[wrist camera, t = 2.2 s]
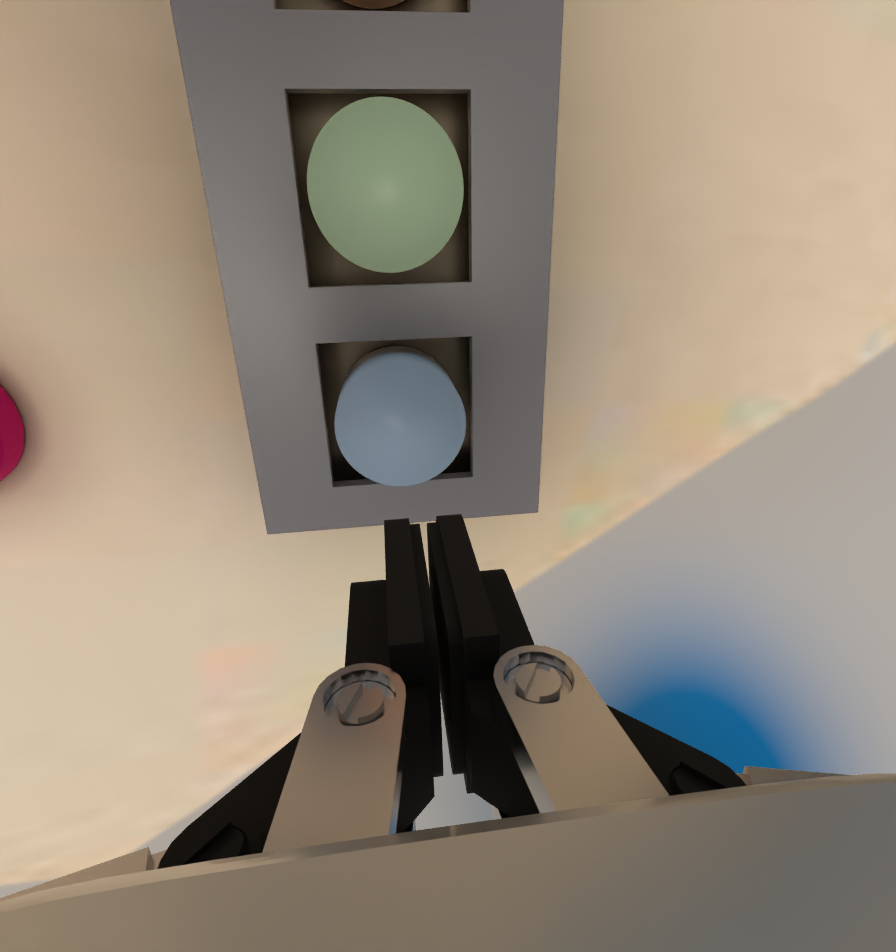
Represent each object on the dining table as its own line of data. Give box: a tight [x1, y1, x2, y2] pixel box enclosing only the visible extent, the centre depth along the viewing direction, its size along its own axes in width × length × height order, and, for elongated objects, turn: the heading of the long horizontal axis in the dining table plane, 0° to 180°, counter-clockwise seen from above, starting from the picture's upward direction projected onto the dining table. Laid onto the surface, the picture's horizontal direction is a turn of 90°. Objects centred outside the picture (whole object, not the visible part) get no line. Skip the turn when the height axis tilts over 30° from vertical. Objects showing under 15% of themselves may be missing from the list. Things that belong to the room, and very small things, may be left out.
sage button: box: [307, 97, 464, 273], centre depth 19 cm, size 5×5×3 cm
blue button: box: [334, 346, 466, 486], centre depth 22 cm, size 5×5×3 cm
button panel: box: [170, 0, 564, 534], centre depth 20 cm, size 26×12×3 cm, turn 1°
